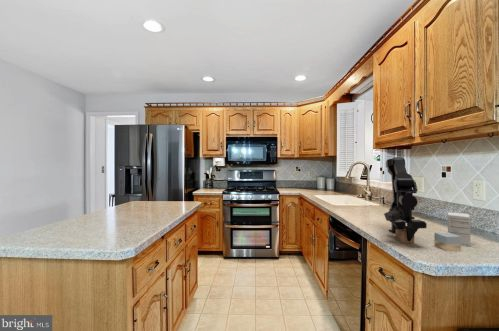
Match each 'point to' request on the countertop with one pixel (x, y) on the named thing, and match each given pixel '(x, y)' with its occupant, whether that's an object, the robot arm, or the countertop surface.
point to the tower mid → (447, 238)
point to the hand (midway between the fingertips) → (404, 239)
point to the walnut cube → (403, 236)
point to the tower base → (447, 246)
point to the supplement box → (460, 226)
